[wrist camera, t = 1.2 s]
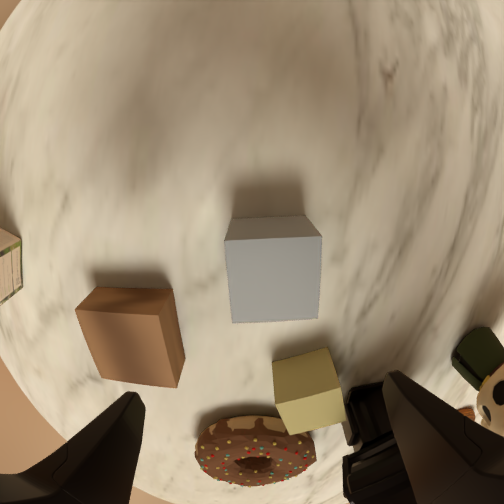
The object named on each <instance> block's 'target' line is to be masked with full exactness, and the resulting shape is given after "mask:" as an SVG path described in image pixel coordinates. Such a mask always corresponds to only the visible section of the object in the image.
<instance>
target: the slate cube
mask: <svg viewBox="0 0 504 504" xmlns="http://www.w3.org/2000/svg"><path fill="white" fill-rule="evenodd" d="M224 244H225V255H226V266H227V276H228V287H229V297H230V306H231V316H232V323H256V322H276V321H293V320H307V319H318V311H319V296H320V278H321V254H322V236H321V234H320V233H319V232H318V230H317V229H316V228H315V227H314V225H313V224H312V223H311V222H310V220H309V219H308V218H307V217H306V215H303V216H277V217H256V218H237V219H231V222H230V225H229V228H228V231H227V234H226V237H225V240H224Z"/></svg>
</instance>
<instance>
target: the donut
mask: <svg viewBox="0 0 504 504" xmlns="http://www.w3.org/2000/svg"><path fill="white" fill-rule="evenodd" d="M195 449H196V451H195V458H196V460H197V461H198V463H199V465H200V467H201V468H200V469H201V470H203V471H204V472H205V473H207V474H208V475H209V476H211V477H213V479H217V481H220V480H222V481H226V482H229V484H232V483H234V484H238V485H241V487H243V486H248V487H251V486H260V485H262V486H264V485H265V484H271V483H274V484H275V483H276V482H279V481H284V480H289V478H291V477H293V476H295V477H297V475H298V474H300V473H302V472H303V471H306V469H307V467H309V466H310V465H311V464H313V463H314V462H315V461H317V459H316V453H315V446H314V441H313V440H312V438H311V437H310V435H309V434H308V432H307V431H306V432H302V433H298V434H293V435H289V432H288V430H287V428H286V426H285V424H284V422H283V420H282V419H280V418H276V417H270V416H259V415H248V416H238V417H233V418H229V419H228V418H225V419H221V420H219V421H218V422H217V423H216V424H213V425H211V426H209V427H208V428H206V429H205V430H204V431H203V432H202V433H201V435H200V436H199V438H198V440H197V443H196V445H195Z"/></svg>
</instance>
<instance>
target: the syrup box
mask: <svg viewBox="0 0 504 504" xmlns="http://www.w3.org/2000/svg"><path fill="white" fill-rule="evenodd" d="M22 288H23V285H22V265H21V239H20V238H18V237H16V236H15V235H13V234H11V233H9V232H7V231H6V230H4V229H2V228H0V306H1V305H2V304H3V303H5V302H6V301H7V300H8V299H9V298H10V297H12V296H13V295H14V294H16V293H17V292H18V291H19V290H21V289H22Z"/></svg>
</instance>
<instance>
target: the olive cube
mask: <svg viewBox="0 0 504 504" xmlns="http://www.w3.org/2000/svg"><path fill="white" fill-rule="evenodd" d="M272 370H273V383H274V396H275V405H276V407H277V410H278V412H279V414H280V416H281V418H282V420H283V422H284V424H285V426H286V428H287V430H288V432H289V435H293V434H298V433H302V432H306V431H311V430H315V429H319V428H322V427H326V426H330V425H333V424H337V423H340V422H343V421H346V415H345V409H344V403H343V397H342V391H341V386H340V383H339V380H338V377H337V374H336V371H335V368H334V365H333V362H332V359H331V356H330V353H329V350H328V347H325V348H322V349H319V350H315V351H312V352H309V353H305V354H302V355H298V356H294V357H291V358H287V359H283V360H279V361H275V362H272Z"/></svg>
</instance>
